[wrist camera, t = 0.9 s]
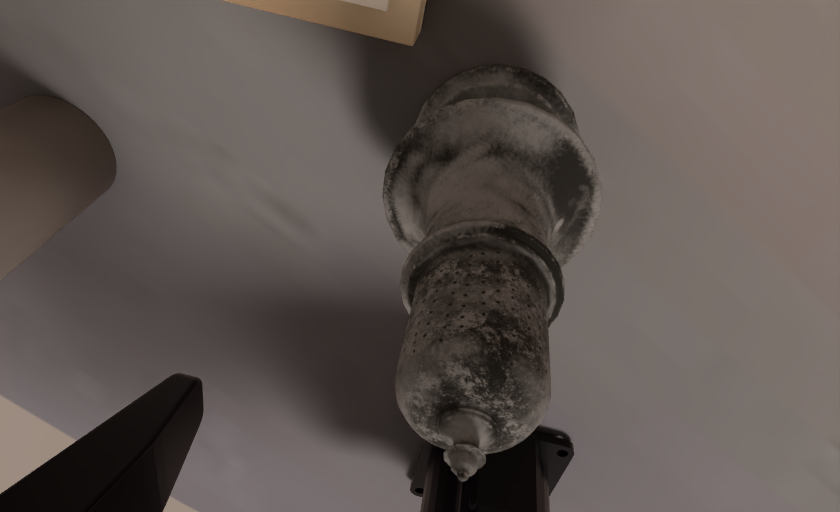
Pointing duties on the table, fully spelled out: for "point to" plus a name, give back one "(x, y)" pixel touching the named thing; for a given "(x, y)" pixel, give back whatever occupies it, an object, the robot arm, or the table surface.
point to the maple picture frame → (354, 15)
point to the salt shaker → (485, 255)
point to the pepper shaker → (46, 172)
